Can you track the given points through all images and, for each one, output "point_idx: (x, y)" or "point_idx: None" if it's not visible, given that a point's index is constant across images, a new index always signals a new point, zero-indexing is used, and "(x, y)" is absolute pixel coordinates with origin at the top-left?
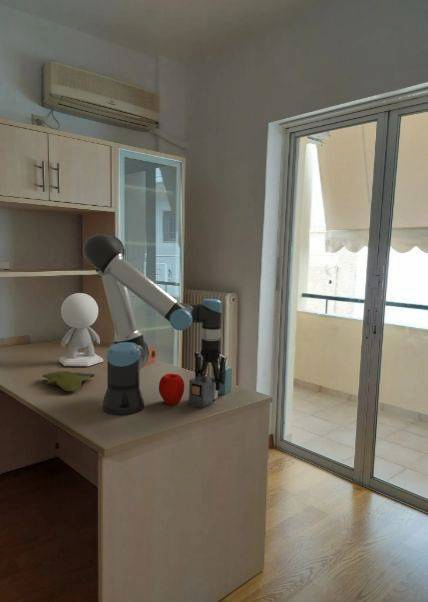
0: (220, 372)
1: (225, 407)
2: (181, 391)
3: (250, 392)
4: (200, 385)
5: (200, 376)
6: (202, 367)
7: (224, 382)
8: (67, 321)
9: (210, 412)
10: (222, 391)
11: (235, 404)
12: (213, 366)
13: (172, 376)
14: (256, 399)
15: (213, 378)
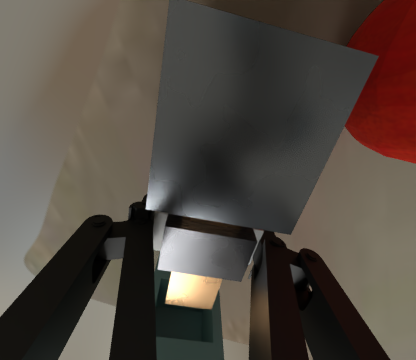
0: (61, 279)
1: (110, 129)
2: (371, 33)
3: (100, 294)
4: None
5: (272, 216)
6: (291, 327)
7: (156, 288)
8: None
9: (145, 29)
10: None
11: (89, 178)
12: (138, 354)
13: None
14: (48, 249)
15: (172, 246)
